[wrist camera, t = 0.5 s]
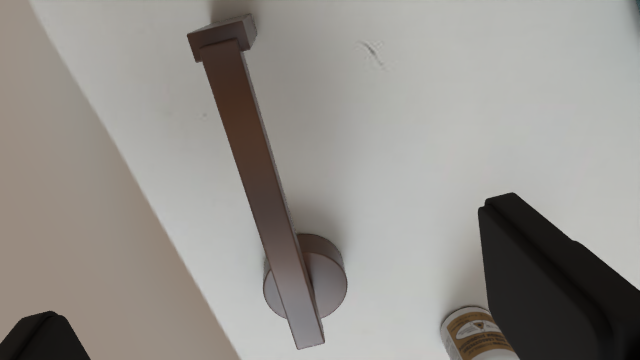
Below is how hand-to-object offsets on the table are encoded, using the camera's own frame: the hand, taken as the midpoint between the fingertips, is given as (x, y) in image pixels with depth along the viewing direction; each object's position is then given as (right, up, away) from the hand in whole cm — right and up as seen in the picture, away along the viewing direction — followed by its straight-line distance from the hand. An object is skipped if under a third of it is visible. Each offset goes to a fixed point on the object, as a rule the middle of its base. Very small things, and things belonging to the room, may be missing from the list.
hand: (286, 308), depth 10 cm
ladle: (-2, +3, +19) cm, 19 cm away
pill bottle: (+12, -9, +25) cm, 29 cm away
